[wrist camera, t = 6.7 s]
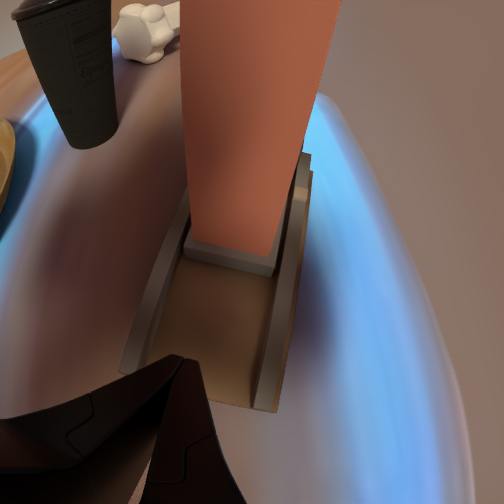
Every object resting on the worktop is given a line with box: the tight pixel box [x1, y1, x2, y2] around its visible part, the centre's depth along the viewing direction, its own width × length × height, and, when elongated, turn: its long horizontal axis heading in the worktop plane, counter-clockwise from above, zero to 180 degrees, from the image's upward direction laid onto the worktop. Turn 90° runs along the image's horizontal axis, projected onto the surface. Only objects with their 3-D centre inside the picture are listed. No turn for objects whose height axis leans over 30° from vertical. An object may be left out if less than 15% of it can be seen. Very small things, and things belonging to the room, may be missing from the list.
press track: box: [118, 140, 313, 413], centre depth 17 cm, size 16×8×4 cm, turn 168°
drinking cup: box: [11, 0, 118, 149], centre depth 15 cm, size 8×8×20 cm
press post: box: [180, 0, 342, 277], centre depth 12 cm, size 5×5×15 cm
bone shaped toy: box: [112, 1, 180, 64], centre depth 30 cm, size 15×9×8 cm, turn 150°
